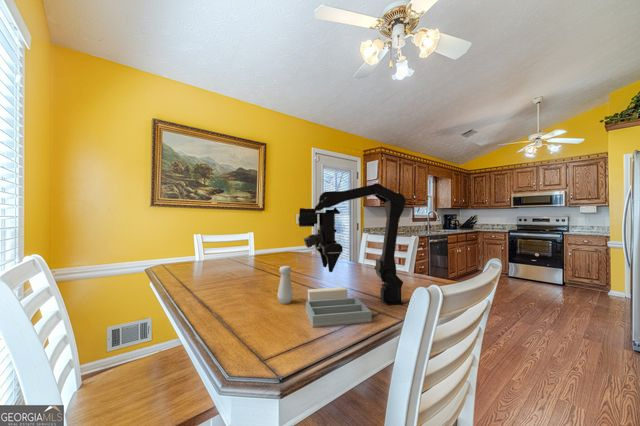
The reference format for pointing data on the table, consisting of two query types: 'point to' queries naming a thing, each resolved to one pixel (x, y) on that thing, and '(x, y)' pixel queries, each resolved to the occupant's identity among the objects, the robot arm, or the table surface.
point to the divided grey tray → (337, 312)
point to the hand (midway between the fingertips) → (327, 269)
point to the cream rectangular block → (327, 293)
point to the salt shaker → (285, 286)
